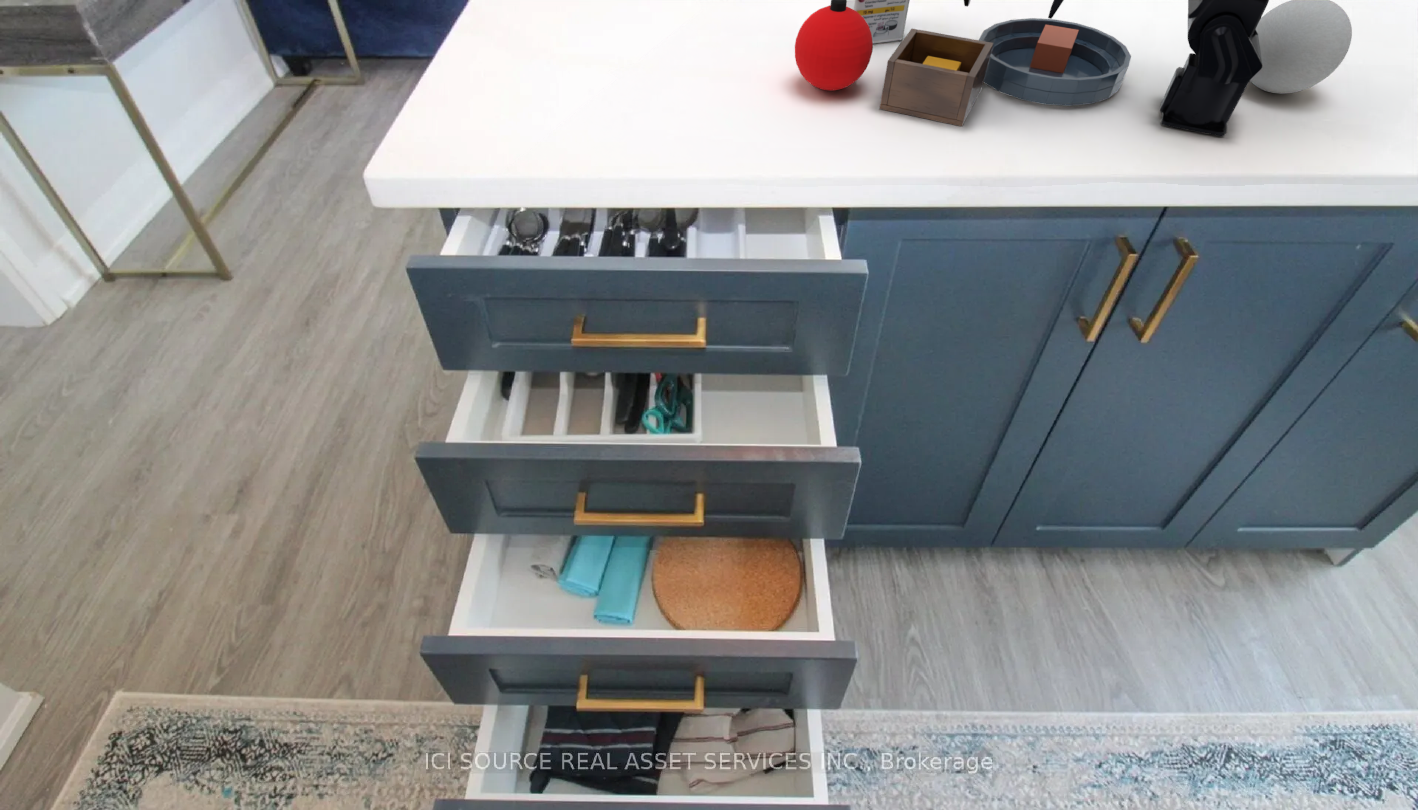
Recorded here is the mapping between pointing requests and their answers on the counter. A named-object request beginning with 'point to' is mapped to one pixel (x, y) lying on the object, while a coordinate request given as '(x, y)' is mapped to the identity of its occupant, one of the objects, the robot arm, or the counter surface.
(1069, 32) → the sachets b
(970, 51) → the holder
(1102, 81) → the bowl
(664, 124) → the counter surface
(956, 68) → the yellow block
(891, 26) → the container
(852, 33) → the ornament
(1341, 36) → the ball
